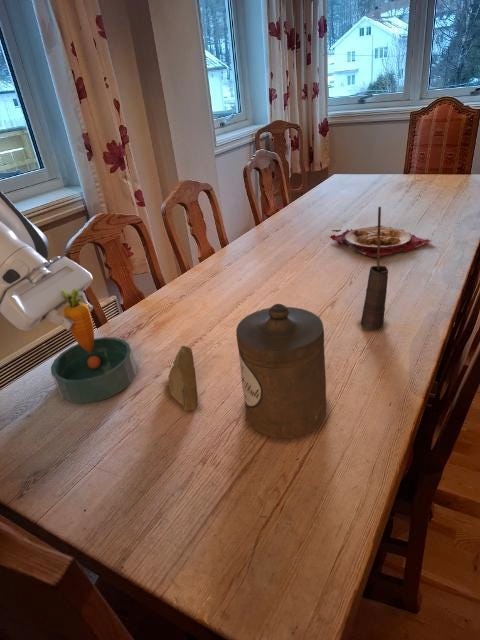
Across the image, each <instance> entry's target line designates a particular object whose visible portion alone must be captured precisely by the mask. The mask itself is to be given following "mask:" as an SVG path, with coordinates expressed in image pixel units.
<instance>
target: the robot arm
mask: <svg viewBox="0 0 480 640" xmlns="http://www.w3.org/2000/svg"><path fill="white" fill-rule="evenodd" d="M49 251H50V243H49V240H48V238H47V236H46V235H45V234H44V232H42V230H41V229H40V228H38V226H36V225H35V224H34V223H33V222H31V221H30V220H29V219H28V218H27V217H26V216H25V215H24V214H23V213H22V211H20V209H18V208H17V206H16V205H15V204H14V203H13V202H12V201H11V200H10V199H9V198H8V197H7V195H5V193H4V192H3V191H2V190H1V189H0V313H1V314H2V316H3V317H4V318H5V319H6V320H7V321H8V322H9V323H10V324H12V325H13V326H14V327H15V328H17V329H18V330H20V331H24V332H29V331H31V330H32V329H33V328H35V327H37V325H39V324H40V323H42V322H43V321H44V320H47V322H49V323H51V324H55V325H59V326H61V327H62V328H64V329H65V330H67V331H69V330H70V328H71V327H72V326H73V325H74V324H75V321H74V320H72V319H71V318H70V317H69V316H68V317H67V318H65V316H62V315H60V314H58V313H59V312H58V310H59V309H61V308H63V306H65V305H67V304H68V303H69V302H68V301H67V299H66V298H65V296H64V295H63V294H62V293H61V291H62V290H64V291H65V292H66V293H68V294H69V295H70V299H71V301H72V292H73V289H77V290H78V293H77V297H76V300H77V299H78V298H79V297H81V298H82V299H81V300H80V301H79V302H81V303H85V304H87V305H88V308H89V311H90V313H91V312H92V311H93V309H94V306H93V305H92V304H91V303H90V302H88V299H87V296H86V294H85V292H84V291H86V290H87V289H89V287H90V285H91V284H92V283H93V280H94V279H93V278H94V277H93V275H92V273H90V272H89V271H88V270H87V269H85V268H83V266H82V265H79V264H78V263H77V262H75V261H74V260H71V259H70V258H68V257H67V256H61V255H60V256H59V255H55V256H53V257H52V258H50V259H48V257H49V253H50V252H49Z"/></svg>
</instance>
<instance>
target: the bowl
mask: <svg viewBox="0 0 480 640" xmlns="http://www.w3.org/2000/svg"><path fill="white" fill-rule="evenodd" d="M91 356H97V357H99V358H100V360H101V365H100V366H99V367H98V368H97V369H91V368H90V367H89V366H88V365H87V361H88V359H89V358H90V357H91ZM50 374H51V377H52V379H53V381H54V383H55V386H56V389H57V391H58V394H59V395H60V396H61V397H62V399H63V400H66V401H68V402H71V403H75V404H88V403H89V404H90V403H95V402H100V401H103V400H106V399H109V398H111V397H113V396H115V395H117V394H119V393H120V392H122V391H123V390H124V389H126V388H127V387H128V386H129V385H130V384H131V383H132V382H133V380H134V378H135V377H136V374H137V365H136V363H135V359H134V355H133V351H132V348H131V346H130V344H129V343H128V342H127V341H126V340H124V339H123V338H118V337H110V336H108V337H107V336H104V337H96V338H94V346H93V350H92V352H91V353H89V352H87V351H86V350H84V349H83V348H82V347H81V346H80V345H79V344H78V343H75V344H74V345H72V346H70V347H68V348H67V349H65V350H64V351H62V352H61V353H60V354H59V355H57V357H56V358H55V359H54V360H53V362H52V364H51V366H50Z"/></svg>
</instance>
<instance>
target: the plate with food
mask: <svg viewBox="0 0 480 640" xmlns="http://www.w3.org/2000/svg"><path fill="white" fill-rule="evenodd" d="M331 231H332V232H335V233H340V232H341V233H340V234H337V235H336V234H333V235H330V236H329V238H330V239H331V240H332V241H336V242H337V243H338V244H339V245H341V244H342V245H345V246H348V248H351V249H352V246H351V245H354V246H356V248H355V251H357V252H358V253H362V255H363V256H367V257H372V258H373V257H374V258H377V252H378V251H377V250H378V249H377V248H378V225H377V226H370V227H361V228H357V229H352V228H351V229H350V230H349V228H347V229H346V230H345V231H344V232H342V230H341V229H333V230H331ZM432 241H433V240H432V239H428V238H426V239H423V238H419V237H417V236H416V235H415V234H411V232H407V231H405V230H404V229H403V228H402V229H401V228H396V227H392V226H382V225H380V257H383V256H385V255H392V253H393V254H396V253H399V252H400V253H401V252H403V253H405V252H409V251H413V250H416V249H418V247H422V246H424V245H425V244H428V243H430V242H432ZM350 244H351V245H350Z"/></svg>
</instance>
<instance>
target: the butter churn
mask: <svg viewBox="0 0 480 640" xmlns="http://www.w3.org/2000/svg"><path fill="white" fill-rule="evenodd" d="M381 217H382V207H381V206H378V209H377V227H378V248H377V249H378V250H377V251H378V252H377V257H376V265H371V266H370V268H369V273H368V277H367V278H368V279H367V284H366V285H367V286H366V289H365V298H364V303H363V304H364V305H363V307H362V308H363V309H362V313H361V320H360V325H361V326H362V328H363V329H365V330H368V331H378V330H380V329H382V327H383V326H384V322H385V320H384V319H385V311H386V299H387V292H388V291H387V290H388V289H387V288H388V280H389V269H388V267H387V266H385V265H380V258H381V256H380V226H381V223H382V222H381V220H382V219H381Z"/></svg>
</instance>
